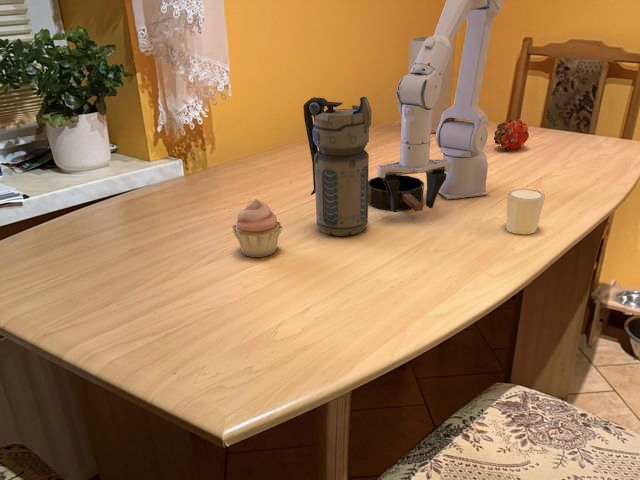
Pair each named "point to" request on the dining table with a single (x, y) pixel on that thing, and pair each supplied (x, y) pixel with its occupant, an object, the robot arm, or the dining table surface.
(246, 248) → the cupcake
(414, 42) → the cylinder vase
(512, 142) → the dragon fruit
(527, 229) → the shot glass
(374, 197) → the skillet
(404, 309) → the dining table surface
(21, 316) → the dining table surface
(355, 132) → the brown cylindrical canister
